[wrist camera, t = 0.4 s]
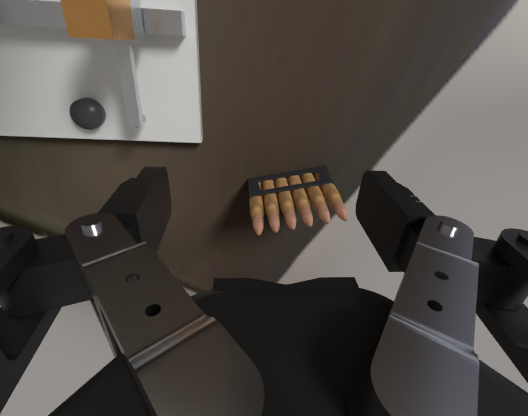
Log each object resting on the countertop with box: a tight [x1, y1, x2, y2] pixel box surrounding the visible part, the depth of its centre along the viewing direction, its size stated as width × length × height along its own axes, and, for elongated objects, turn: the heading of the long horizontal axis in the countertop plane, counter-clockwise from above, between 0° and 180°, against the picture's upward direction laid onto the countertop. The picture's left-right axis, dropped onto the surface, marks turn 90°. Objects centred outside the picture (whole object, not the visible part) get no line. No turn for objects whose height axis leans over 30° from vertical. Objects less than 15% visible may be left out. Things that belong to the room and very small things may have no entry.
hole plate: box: [0, 0, 203, 143], centre depth 31 cm, size 16×28×3 cm, turn 87°
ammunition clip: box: [247, 166, 347, 235], centre depth 35 cm, size 11×2×12 cm, turn 99°
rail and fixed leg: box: [0, 0, 186, 36], centre depth 26 cm, size 11×26×10 cm, turn 87°
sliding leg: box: [60, 0, 146, 128], centre depth 26 cm, size 11×3×8 cm, turn 177°
